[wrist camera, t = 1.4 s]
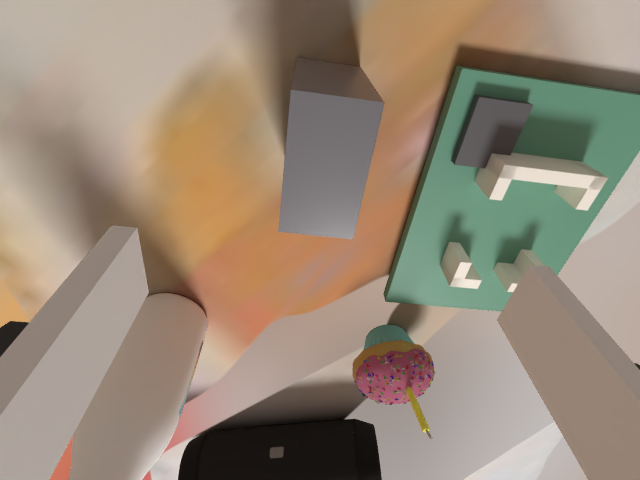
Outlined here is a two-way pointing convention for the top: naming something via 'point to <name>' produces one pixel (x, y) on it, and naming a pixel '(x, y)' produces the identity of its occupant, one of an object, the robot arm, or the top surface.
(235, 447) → the portable speaker
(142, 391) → the milk bottle
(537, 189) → the board
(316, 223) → the block
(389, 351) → the cupcake
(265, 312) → the top surface
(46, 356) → the robot arm
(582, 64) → the top surface
